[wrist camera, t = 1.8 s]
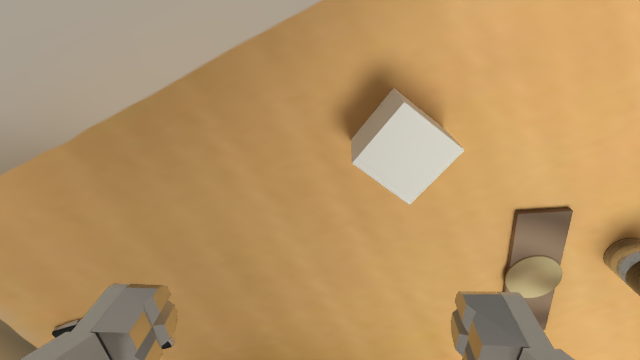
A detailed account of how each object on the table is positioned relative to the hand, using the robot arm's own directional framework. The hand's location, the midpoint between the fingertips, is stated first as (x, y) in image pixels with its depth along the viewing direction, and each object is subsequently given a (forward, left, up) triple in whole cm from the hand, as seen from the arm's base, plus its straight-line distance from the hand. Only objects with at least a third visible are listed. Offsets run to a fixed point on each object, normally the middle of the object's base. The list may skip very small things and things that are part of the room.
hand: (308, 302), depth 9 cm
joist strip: (-20, -20, -23) cm, 36 cm away
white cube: (-3, -6, -23) cm, 24 cm away
